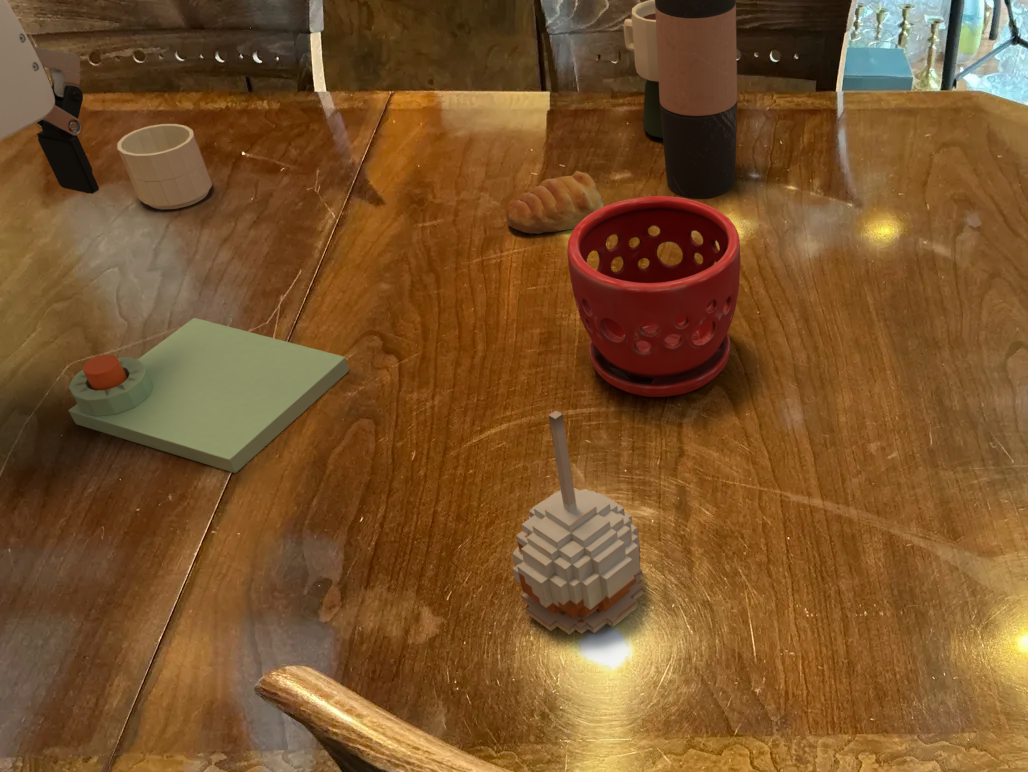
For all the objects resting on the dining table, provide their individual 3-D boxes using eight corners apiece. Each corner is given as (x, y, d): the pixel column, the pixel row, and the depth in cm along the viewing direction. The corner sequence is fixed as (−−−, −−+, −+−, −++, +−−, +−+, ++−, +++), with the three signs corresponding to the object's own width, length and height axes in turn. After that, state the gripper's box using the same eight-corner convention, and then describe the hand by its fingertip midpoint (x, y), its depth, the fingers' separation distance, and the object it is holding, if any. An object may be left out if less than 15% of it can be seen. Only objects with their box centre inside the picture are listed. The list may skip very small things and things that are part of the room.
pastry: (524, 247, 103) (518, 210, 101) (496, 218, 107) (490, 182, 105) (611, 220, 107) (607, 183, 104) (581, 194, 111) (576, 158, 108)
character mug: (729, 130, 121) (727, 7, 112) (694, 154, 117) (689, 29, 107) (649, 109, 125) (642, -10, 116) (613, 132, 121) (602, 10, 112)
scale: (68, 422, 85) (51, 391, 83) (193, 329, 94) (180, 299, 92) (235, 473, 80) (221, 442, 78) (350, 370, 89) (340, 340, 87)
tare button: (84, 388, 84) (74, 369, 83) (109, 369, 86) (100, 351, 84) (109, 395, 83) (100, 377, 82) (134, 376, 85) (125, 358, 84)
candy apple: (586, 535, 75) (559, 357, 64) (667, 588, 71) (653, 409, 61) (500, 599, 71) (457, 419, 60) (582, 658, 67) (550, 479, 57)
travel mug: (706, 158, 116) (700, -44, 102) (752, 183, 112) (753, -24, 97) (649, 180, 112) (635, -26, 98) (695, 207, 108) (687, -5, 94)
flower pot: (551, 362, 90) (531, 231, 81) (675, 305, 96) (668, 177, 87) (646, 437, 82) (635, 303, 74) (773, 370, 88) (776, 238, 80)
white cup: (125, 204, 111) (101, 148, 107) (175, 174, 115) (154, 119, 111) (180, 217, 109) (157, 160, 104) (228, 185, 113) (208, 130, 109)
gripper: (-34, -96, 69) (83, 159, 82) (-302, -9, 58) (-121, 271, 70) (53, -86, 67) (159, 174, 79) (-209, 7, 56) (-38, 293, 68)
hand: (27, 219), depth 75 cm, fingers open, 9 cm apart
